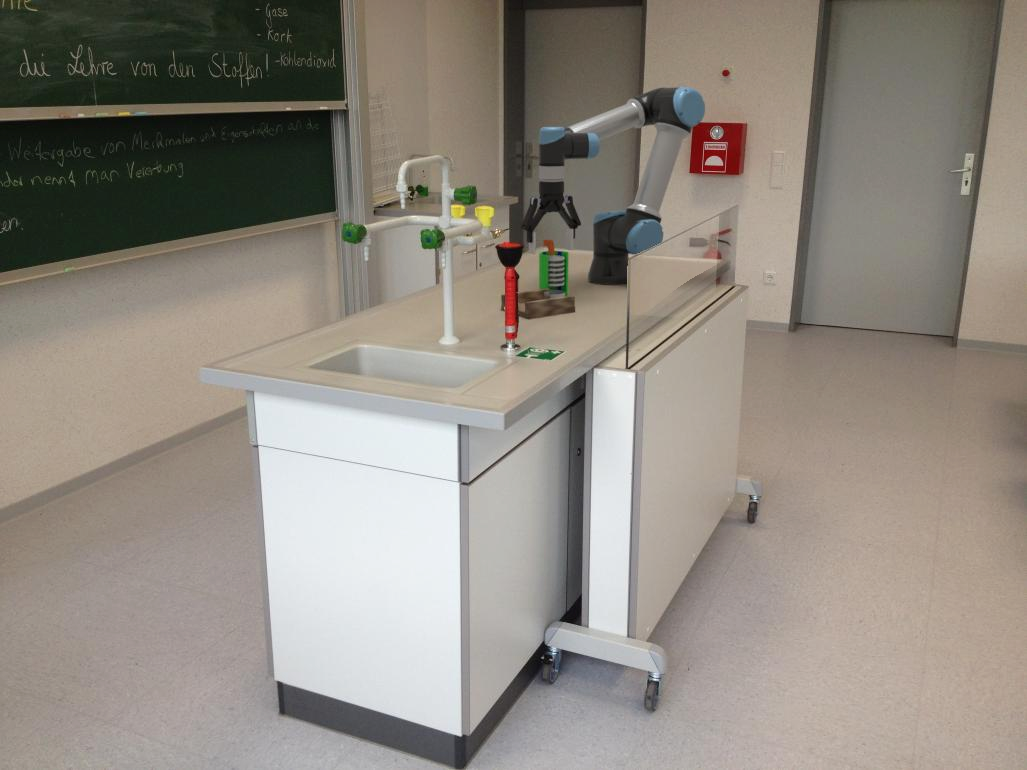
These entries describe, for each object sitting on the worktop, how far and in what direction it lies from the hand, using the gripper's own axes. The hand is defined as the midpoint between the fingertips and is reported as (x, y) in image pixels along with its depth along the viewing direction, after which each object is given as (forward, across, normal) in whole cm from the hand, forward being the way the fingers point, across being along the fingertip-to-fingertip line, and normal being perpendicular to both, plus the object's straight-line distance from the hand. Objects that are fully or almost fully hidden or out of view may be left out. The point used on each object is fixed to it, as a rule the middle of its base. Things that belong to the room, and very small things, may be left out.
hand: (551, 251), depth 295 cm
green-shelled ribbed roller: (+15, -1, 0) cm, 15 cm away
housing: (+15, +12, +12) cm, 23 cm away
